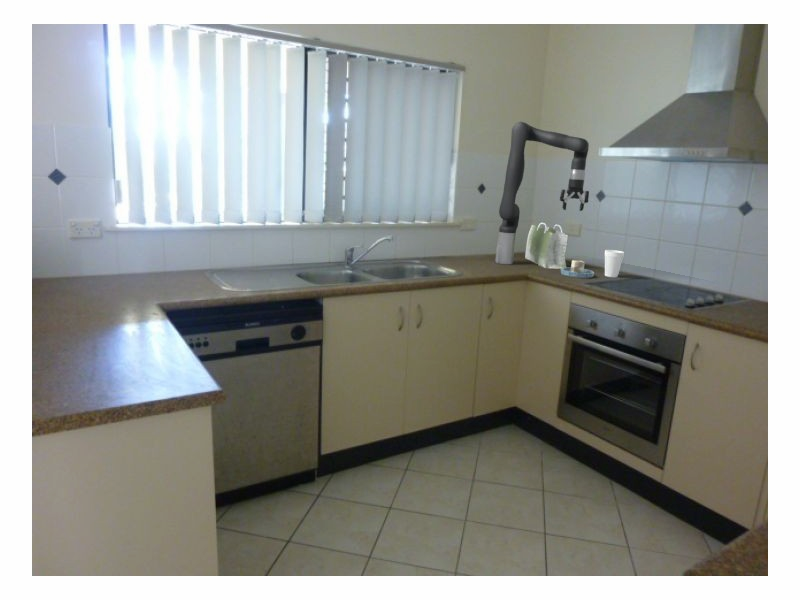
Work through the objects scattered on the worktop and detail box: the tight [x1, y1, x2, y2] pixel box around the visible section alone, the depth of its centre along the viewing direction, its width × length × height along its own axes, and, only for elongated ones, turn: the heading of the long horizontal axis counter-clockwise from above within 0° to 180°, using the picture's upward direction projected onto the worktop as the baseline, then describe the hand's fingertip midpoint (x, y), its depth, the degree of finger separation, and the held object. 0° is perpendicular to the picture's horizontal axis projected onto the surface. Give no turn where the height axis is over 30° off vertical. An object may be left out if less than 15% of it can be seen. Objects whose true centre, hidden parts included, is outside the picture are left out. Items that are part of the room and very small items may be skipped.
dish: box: [560, 267, 595, 279], centre depth 292 cm, size 16×16×2 cm
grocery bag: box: [524, 222, 569, 270], centre depth 322 cm, size 32×14×23 cm, turn 9°
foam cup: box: [604, 249, 625, 278], centre depth 294 cm, size 10×9×13 cm
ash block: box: [570, 260, 586, 273], centre depth 292 cm, size 5×5×6 cm
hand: (572, 210), depth 296 cm, fingers open, 8 cm apart
